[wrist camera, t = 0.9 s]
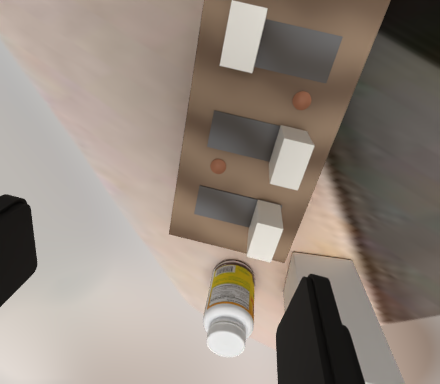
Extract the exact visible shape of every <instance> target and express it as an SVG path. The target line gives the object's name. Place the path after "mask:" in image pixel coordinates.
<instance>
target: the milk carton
mask: <svg viewBox="0 0 440 384" xmlns="http://www.w3.org/2000/svg"><path fill="white" fill-rule="evenodd" d="M309 274H315V275H319V276H323V277H326V278H328V279H329V280H330V283H331V287H332V290H333V294H334V297H335V301H336V304H337V308H338V311H339V315H340V319H341V322H342V325H345V326H346V327H347V328H348V329H349V332H350V334H351V338H352V341H353V344H354V347H355V351H356V354H357V357H358V361H359V364H360V367H361V371H362V374H363V377H364V381H365V384H405V382H404V380H403V377H402V375H401V373H400V370H399V368H398V366H397V364H396V361H395V359H394V357H393V354H392V352H391V350H390V347H389V345H388V343H387V340H386V338H385V336H384V333H383V331H382V329H381V326H380V324H379V322H378V319H377V317H376V315H375V312H374V310H373V308H372V305H371V303H370V301H369V298H368V296H367V294H366V291H365V289H364V287H363V284H362V282H361V280H360V277H359V275H358V273H357V270H356V268H355V266H354V263H353V261H352V260H347V259H339V258H332V257H325V256H318V255H310V254H303V253H295V252H293V254H292V257H291V262H290V266H289V270H288V275H287V279H286V283H285V287H284V292H283V296H284V307H285V311H286V309H287V307H288V305H289V303H290V301H291V299H292V297H293V295H294V293H295V291H296V289H297V287H298V285H299V283H300V281H301V279H302V277H303V276H305V277H308V275H309Z"/></svg>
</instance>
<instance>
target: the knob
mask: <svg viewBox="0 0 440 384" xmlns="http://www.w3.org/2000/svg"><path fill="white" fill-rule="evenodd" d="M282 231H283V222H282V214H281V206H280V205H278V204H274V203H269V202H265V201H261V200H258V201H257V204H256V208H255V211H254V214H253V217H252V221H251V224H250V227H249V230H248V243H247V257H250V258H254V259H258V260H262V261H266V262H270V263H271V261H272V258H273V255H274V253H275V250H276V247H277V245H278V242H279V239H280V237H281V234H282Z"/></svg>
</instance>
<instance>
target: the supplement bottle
mask: <svg viewBox="0 0 440 384" xmlns="http://www.w3.org/2000/svg"><path fill="white" fill-rule="evenodd" d="M253 325H254V274H253V272H252V270H251V269H250V268H249V267H248V266H247V265H245V264H244V263H241V262H238V261H225V262H223V263H221V264H219V265H218V266H217V267H216V268H215V270H214V272H213V275H212V279H211V284H210V289H209V293H208V298H207V303H206V307H205V312H204V317H203V326H204V328H205V331H206V332H207V334H208V335H207V346H208V348H209V349H210V350H211V351H212V352H214V353H215V354H217V355H219V356H223V357H235V356H238V355H240V354H241V353H242V352H243V351H244V349H245V341H246V339H247V338H248V337H249V336H250V335H251V333H252V331H253Z"/></svg>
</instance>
